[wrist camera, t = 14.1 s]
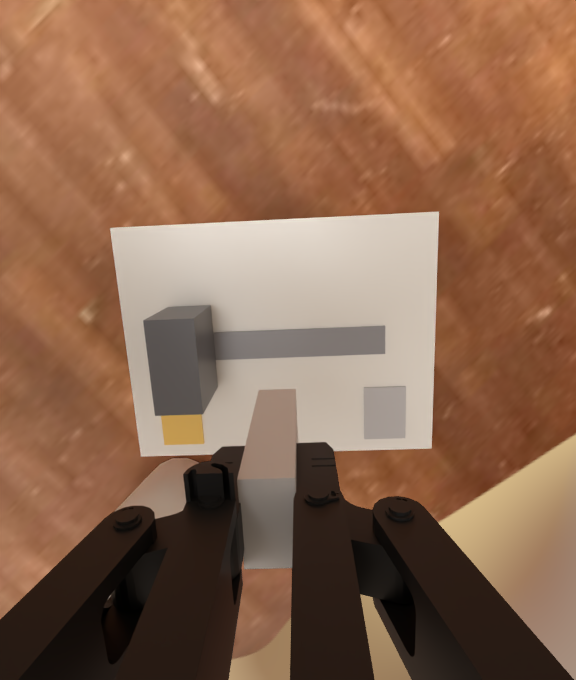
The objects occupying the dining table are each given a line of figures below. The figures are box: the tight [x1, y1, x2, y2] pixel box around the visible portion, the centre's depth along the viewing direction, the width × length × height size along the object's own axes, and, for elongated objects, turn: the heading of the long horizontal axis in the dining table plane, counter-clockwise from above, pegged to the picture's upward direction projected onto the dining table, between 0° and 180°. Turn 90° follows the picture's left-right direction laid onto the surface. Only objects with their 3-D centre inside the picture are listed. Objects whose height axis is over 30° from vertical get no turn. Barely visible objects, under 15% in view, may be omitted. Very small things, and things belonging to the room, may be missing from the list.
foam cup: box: [108, 458, 199, 599], centre depth 35 cm, size 10×9×13 cm
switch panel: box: [110, 212, 439, 457], centre depth 34 cm, size 17×22×6 cm
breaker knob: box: [143, 305, 218, 416], centre depth 29 cm, size 6×3×5 cm, turn 3°
